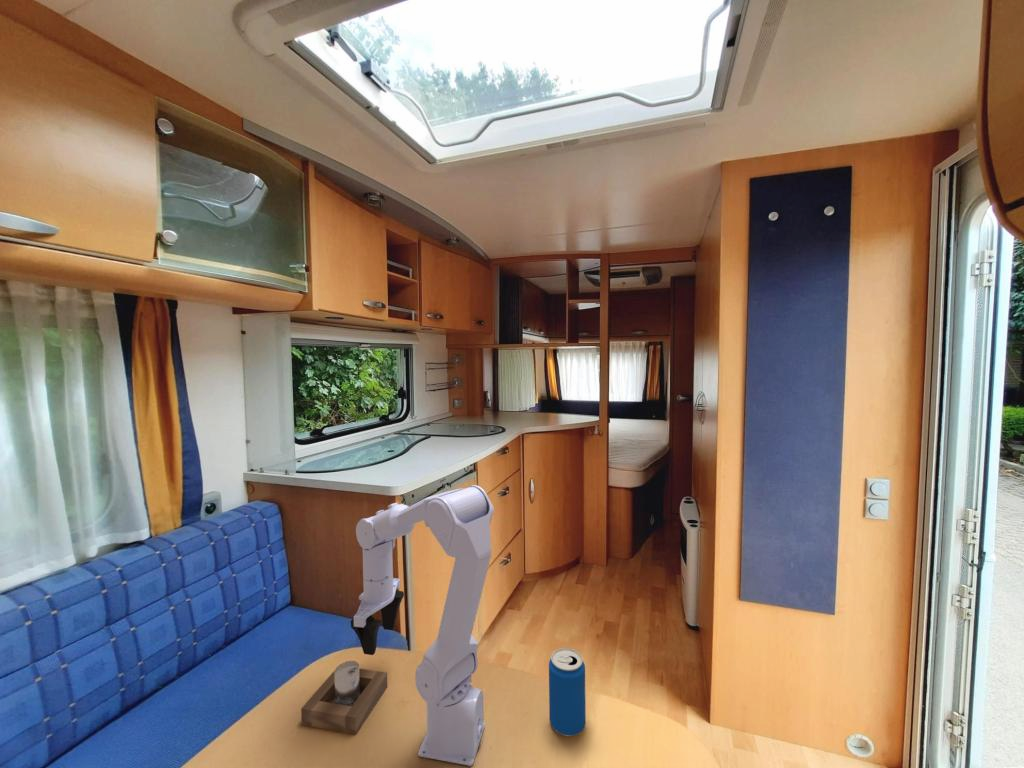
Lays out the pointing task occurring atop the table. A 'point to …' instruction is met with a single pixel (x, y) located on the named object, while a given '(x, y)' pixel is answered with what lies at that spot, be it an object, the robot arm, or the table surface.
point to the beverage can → (567, 692)
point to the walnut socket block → (343, 716)
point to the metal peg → (347, 683)
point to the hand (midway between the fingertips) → (379, 640)
